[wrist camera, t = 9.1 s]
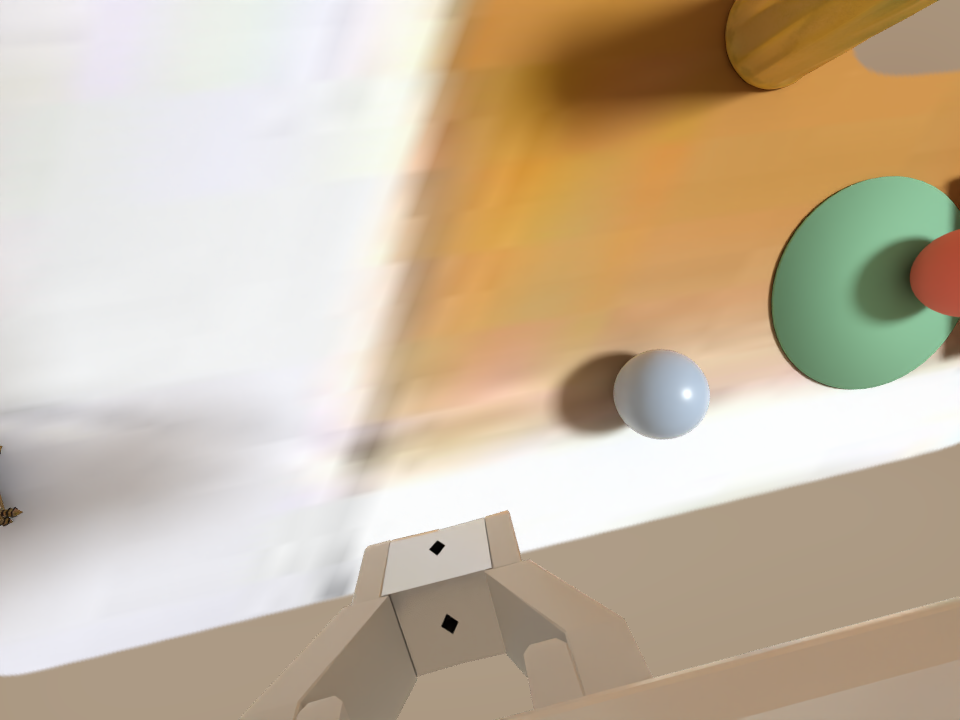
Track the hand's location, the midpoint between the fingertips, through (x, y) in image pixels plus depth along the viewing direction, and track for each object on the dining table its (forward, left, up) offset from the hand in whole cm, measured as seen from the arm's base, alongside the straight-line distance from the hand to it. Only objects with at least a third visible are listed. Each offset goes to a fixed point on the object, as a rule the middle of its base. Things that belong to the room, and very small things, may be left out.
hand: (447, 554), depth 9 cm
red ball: (-10, +31, -18) cm, 37 cm away
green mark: (-8, +28, -20) cm, 35 cm away
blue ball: (0, +13, -18) cm, 22 cm away
